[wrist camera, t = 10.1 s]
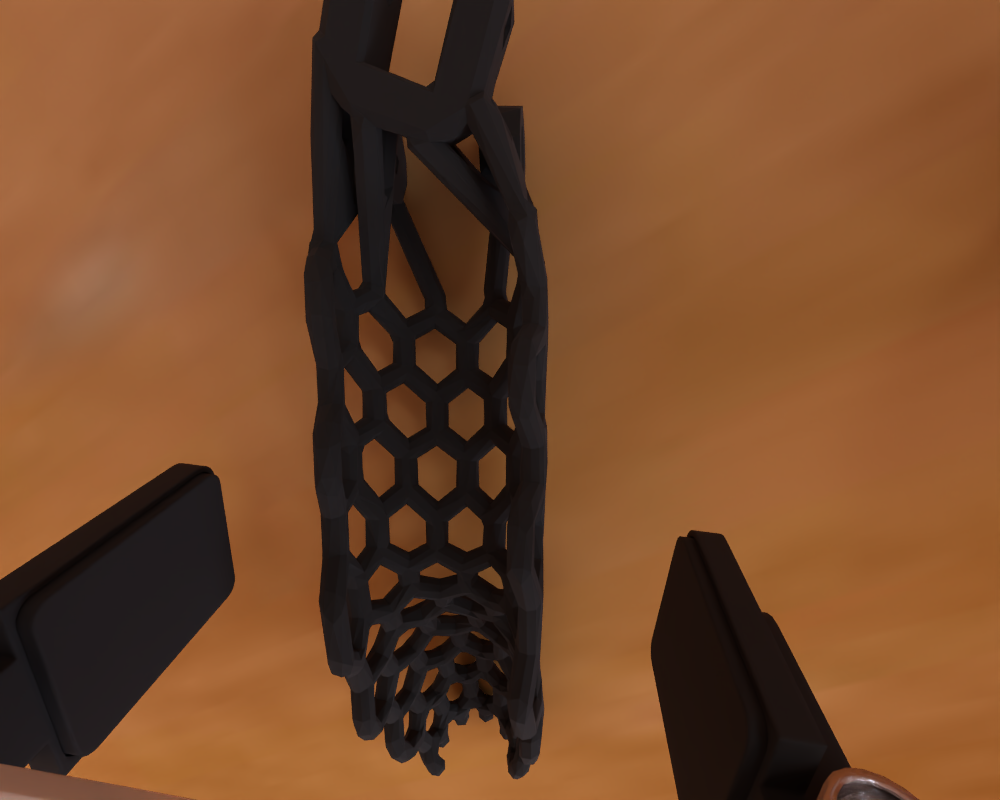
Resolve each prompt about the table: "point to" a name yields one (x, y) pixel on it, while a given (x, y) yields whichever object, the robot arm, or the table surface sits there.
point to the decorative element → (427, 383)
